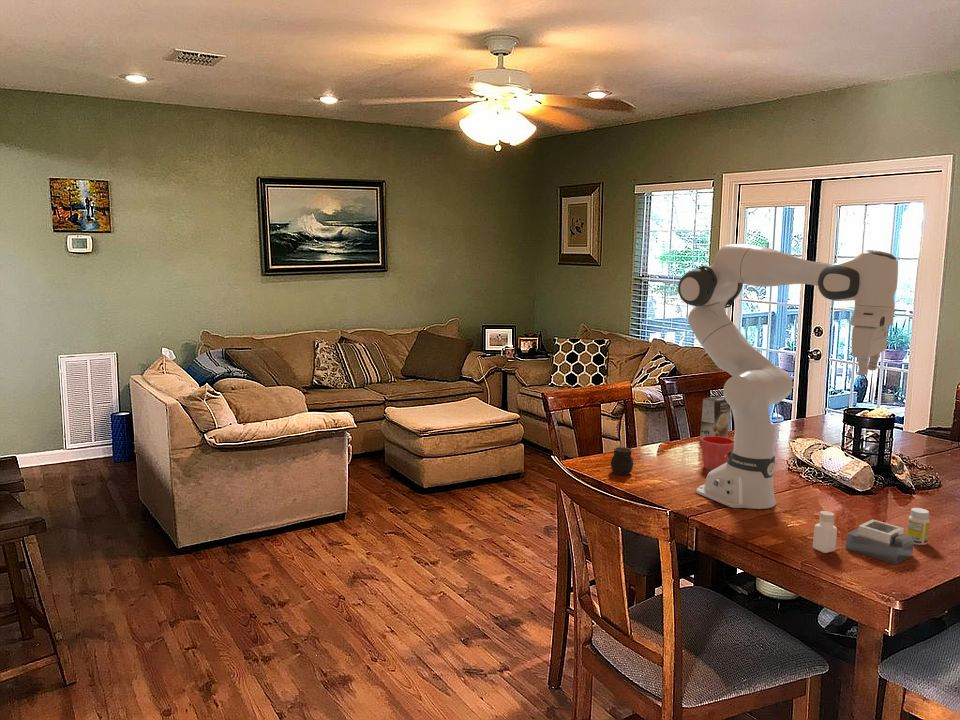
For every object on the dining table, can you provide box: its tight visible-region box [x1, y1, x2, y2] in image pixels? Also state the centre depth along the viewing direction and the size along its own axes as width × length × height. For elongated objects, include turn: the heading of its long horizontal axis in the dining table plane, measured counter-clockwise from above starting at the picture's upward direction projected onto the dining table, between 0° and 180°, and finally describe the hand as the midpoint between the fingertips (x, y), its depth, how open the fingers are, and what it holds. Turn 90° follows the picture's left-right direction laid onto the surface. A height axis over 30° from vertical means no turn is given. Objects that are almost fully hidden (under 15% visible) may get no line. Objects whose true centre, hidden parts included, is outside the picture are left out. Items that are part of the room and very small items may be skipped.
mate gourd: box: [610, 445, 635, 476], centre depth 251 cm, size 7×8×10 cm
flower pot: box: [700, 436, 734, 471], centre depth 259 cm, size 11×11×10 cm
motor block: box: [845, 519, 914, 566], centre depth 192 cm, size 12×9×6 cm
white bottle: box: [812, 510, 838, 554], centre depth 192 cm, size 4×4×10 cm
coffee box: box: [699, 396, 731, 441], centre depth 295 cm, size 9×6×16 cm
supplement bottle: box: [906, 507, 931, 546], centre depth 199 cm, size 5×5×8 cm
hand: (867, 372), depth 196 cm, fingers open, 8 cm apart
